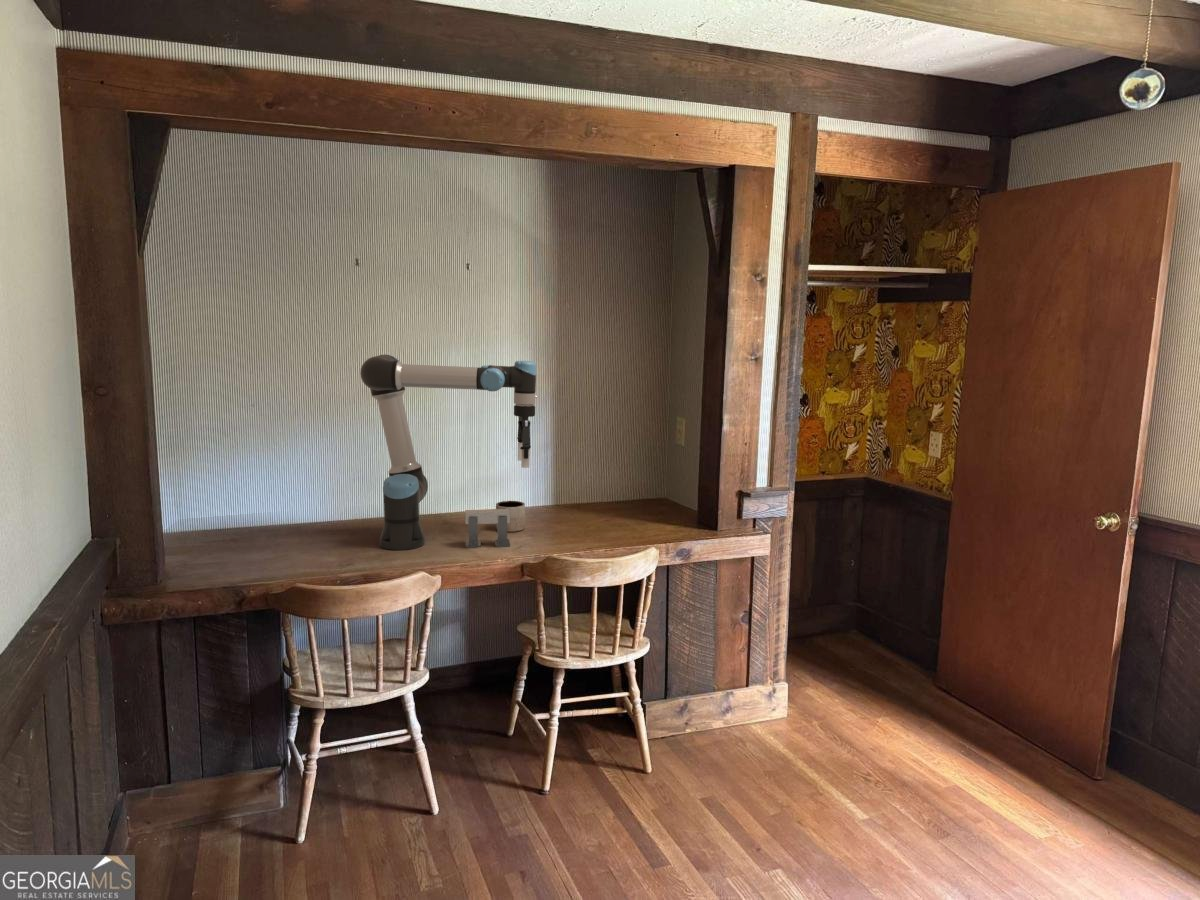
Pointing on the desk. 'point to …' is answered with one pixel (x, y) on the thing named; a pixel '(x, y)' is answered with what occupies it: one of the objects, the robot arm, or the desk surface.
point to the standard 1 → (473, 534)
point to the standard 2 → (502, 533)
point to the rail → (487, 515)
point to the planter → (513, 515)
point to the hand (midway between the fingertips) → (523, 463)
